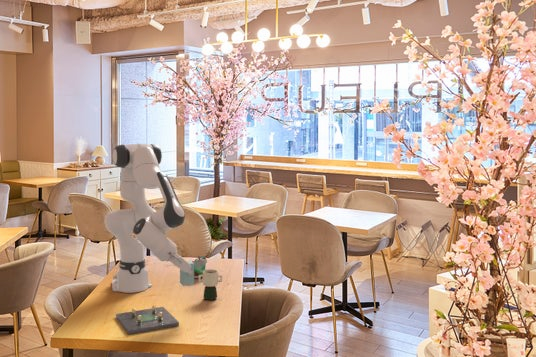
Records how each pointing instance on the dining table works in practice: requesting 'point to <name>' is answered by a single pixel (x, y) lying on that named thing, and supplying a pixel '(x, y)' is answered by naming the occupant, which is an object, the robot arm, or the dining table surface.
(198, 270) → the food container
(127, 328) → the plate
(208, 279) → the character mug
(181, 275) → the module block
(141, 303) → the dining table surface
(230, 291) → the dining table surface
